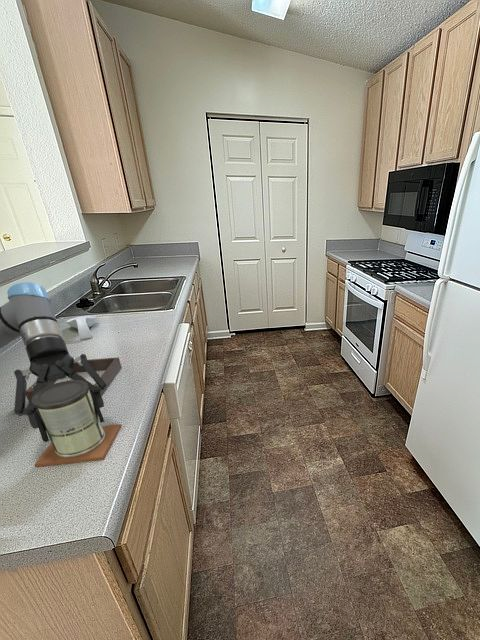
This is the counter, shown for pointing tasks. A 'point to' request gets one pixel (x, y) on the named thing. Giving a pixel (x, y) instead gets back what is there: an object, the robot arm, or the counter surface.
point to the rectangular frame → (106, 364)
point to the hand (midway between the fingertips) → (75, 430)
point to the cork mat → (96, 454)
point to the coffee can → (69, 417)
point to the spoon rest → (83, 325)
